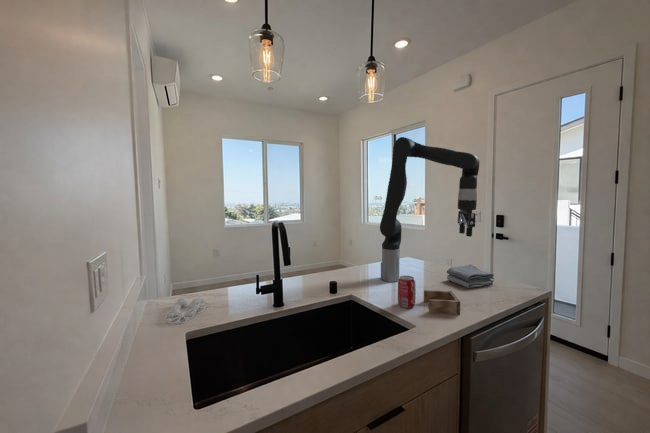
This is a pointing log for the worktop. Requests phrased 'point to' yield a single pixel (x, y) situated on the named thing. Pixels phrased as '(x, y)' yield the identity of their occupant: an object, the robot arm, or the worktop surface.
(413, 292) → the soda can
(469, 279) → the towel
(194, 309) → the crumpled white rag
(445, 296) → the wooden tray
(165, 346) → the worktop surface
